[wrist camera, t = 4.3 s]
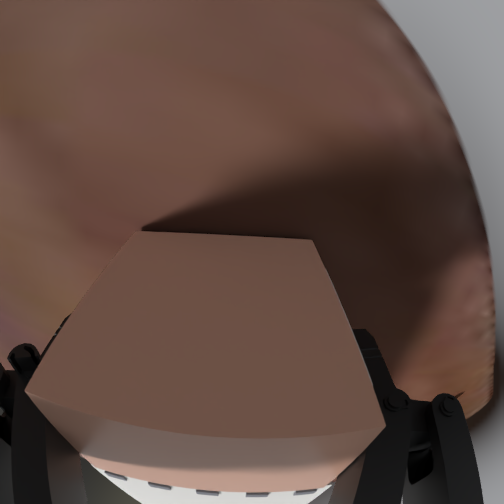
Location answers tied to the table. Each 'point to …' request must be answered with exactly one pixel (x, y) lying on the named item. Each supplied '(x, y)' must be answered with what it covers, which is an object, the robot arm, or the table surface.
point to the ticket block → (205, 493)
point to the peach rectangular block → (211, 367)
